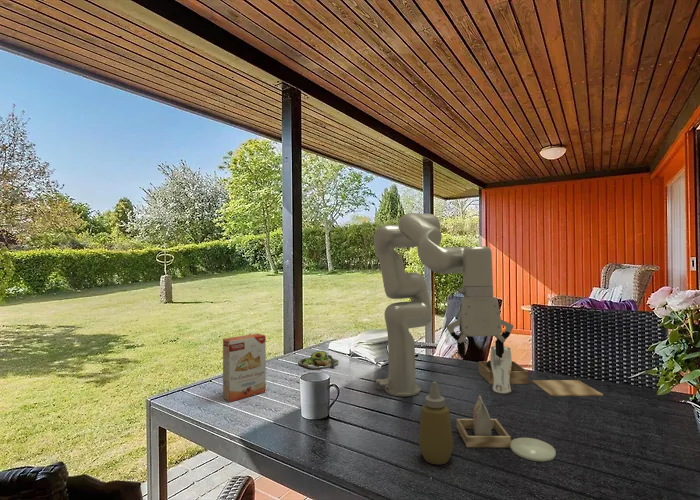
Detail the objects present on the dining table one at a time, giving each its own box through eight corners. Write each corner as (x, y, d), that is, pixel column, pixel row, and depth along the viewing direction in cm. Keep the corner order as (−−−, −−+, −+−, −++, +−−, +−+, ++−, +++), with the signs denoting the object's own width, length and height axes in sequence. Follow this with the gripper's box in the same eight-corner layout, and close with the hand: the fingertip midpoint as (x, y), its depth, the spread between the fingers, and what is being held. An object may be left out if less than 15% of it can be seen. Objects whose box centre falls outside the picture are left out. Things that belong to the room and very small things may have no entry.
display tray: (489, 384, 142) (489, 371, 142) (478, 372, 156) (478, 361, 156) (528, 383, 141) (528, 371, 141) (514, 372, 155) (513, 361, 155)
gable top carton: (487, 432, 104) (486, 395, 104) (491, 444, 97) (490, 404, 97) (473, 431, 104) (472, 394, 105) (476, 442, 98) (475, 403, 98)
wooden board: (551, 396, 128) (551, 394, 128) (532, 381, 143) (532, 380, 143) (603, 395, 128) (603, 394, 128) (578, 381, 143) (578, 380, 143)
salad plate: (349, 366, 170) (349, 355, 170) (315, 374, 160) (314, 363, 160) (326, 357, 186) (326, 348, 186) (293, 364, 175) (293, 354, 176)
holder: (466, 447, 95) (466, 437, 96) (456, 427, 106) (456, 418, 106) (511, 447, 95) (510, 437, 95) (496, 427, 106) (496, 418, 106)
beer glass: (508, 387, 138) (507, 345, 138) (515, 394, 131) (514, 350, 131) (489, 387, 139) (487, 345, 139) (494, 393, 132) (493, 350, 132)
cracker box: (229, 403, 128) (228, 340, 129) (222, 398, 133) (221, 338, 133) (266, 392, 138) (266, 334, 138) (259, 388, 142) (258, 332, 143)
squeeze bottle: (415, 451, 94) (413, 377, 94) (447, 449, 95) (445, 376, 95) (424, 469, 86) (422, 389, 86) (459, 466, 87) (457, 387, 87)
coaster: (519, 461, 88) (519, 457, 88) (504, 440, 98) (504, 437, 98) (563, 461, 88) (563, 458, 88) (544, 440, 98) (543, 437, 98)
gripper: (448, 294, 99) (451, 361, 98) (516, 292, 98) (519, 360, 97) (443, 292, 106) (445, 354, 106) (506, 290, 105) (508, 353, 105)
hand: (480, 356), depth 102 cm, fingers open, 9 cm apart
